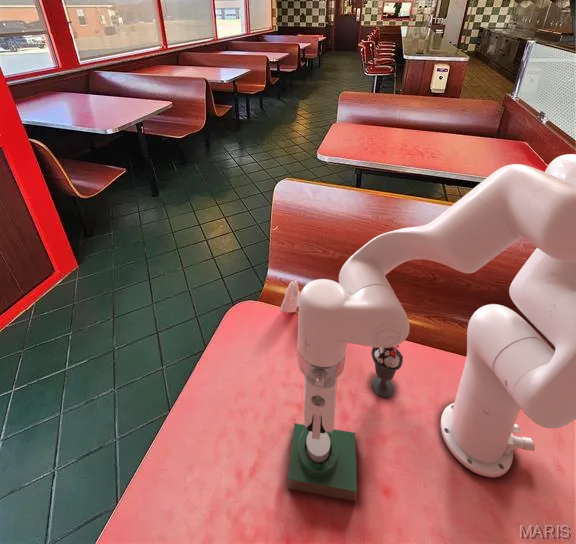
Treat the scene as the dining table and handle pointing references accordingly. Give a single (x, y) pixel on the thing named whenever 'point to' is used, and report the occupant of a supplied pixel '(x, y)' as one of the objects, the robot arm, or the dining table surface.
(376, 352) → the sundae
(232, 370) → the dining table surface
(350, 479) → the button base
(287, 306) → the shaker set
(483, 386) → the robot arm
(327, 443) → the white button cap
